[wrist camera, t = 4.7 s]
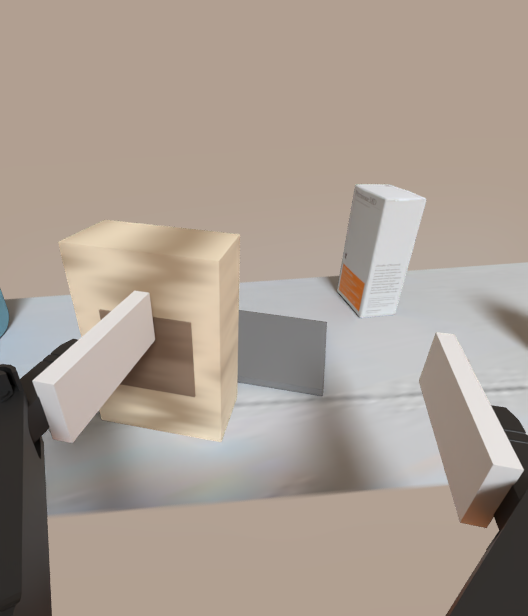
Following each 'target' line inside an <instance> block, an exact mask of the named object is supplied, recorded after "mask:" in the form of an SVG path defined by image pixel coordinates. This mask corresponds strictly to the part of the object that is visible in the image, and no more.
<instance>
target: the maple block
mask: <svg viewBox="0 0 528 616" xmlns="http://www.w3.org/2000/svg"><path fill="white" fill-rule="evenodd" d="M58 244H59V248H60V252H61V256H62V260H63V264H64V268H65V272H66V276H67V280H68V285H69V289H70V293H71V297H72V301H73V305H74V309H75V313H76V317H77V321H78V325H79V329H80V333H81V337H82V336H84V335H85V334H86V333H87V332H88V331H89V330H90V329H92V328H93V327H94V326H95V325H96V324H97V323H98V322H99V321H101V320H102V319H103V318H104V317H105V316H106V315H107V314H109V313H110V312H111V311H112V310H113V309H114V308H115V307H116V306H118V305H119V304H120V303H121V302H122V301H123V300H124V299H126V298H127V297H128V296H129V295H130V294H131V293H132V292H133V291H141V292H148V293H150V301H151V310H152V318H153V326H154V334H155V341H154V342H153V343H152V345H151V346H150V347H149V348H148V350H147V351H146V352H145V353H144V355H143V356H142V357H141V358H140V360H139V361H138V362H137V363H136V365H135V366H134V367H133V368H132V370H131V371H130V372H129V373H128V374H127V376H126V377H125V378H124V379H123V381H122V382H121V383H120V384H119V386H118V387H117V388H116V389H115V391H114V392H113V393H112V394H111V396H110V397H109V398H108V399H107V401H106V402H105V403H104V404H103V406H102V407H101V408H100V409H99V411H100V415H101V419H102V420H105V421H111V422H116V423H121V424H127V425H132V426H137V427H143V428H148V429H153V430H159V431H164V432H169V433H175V434H180V435H185V436H191V437H196V438H201V439H207V440H212V441H217V442H222V439H223V436H224V433H225V430H226V427H227V425H228V422H229V419H230V416H231V413H232V410H233V407H234V405H235V402H236V399H237V375H238V320H239V264H240V263H239V262H240V234H232V233H223V232H213V231H205V230H196V229H186V228H176V227H168V226H158V225H149V224H139V223H130V222H121V221H111V220H103V221H101V222H99V223H97V224H95V225H93V226H91V227H88V228H86V229H84V230H83V231H80V232H78V233H76V234H74V235H72V236H69V237H67V238H65V239H63V240H61V241H59V242H58Z"/></svg>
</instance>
